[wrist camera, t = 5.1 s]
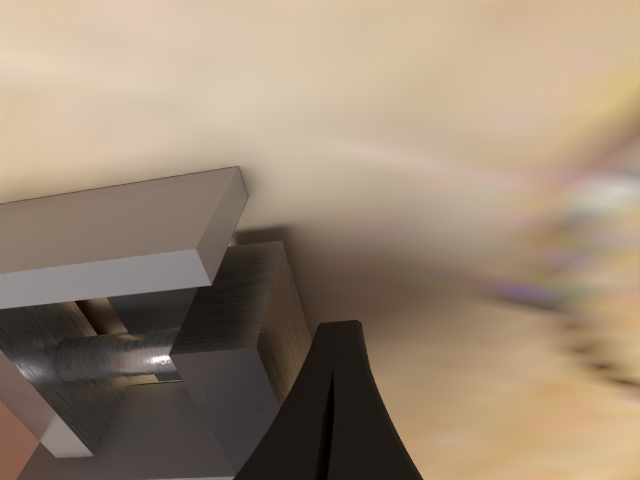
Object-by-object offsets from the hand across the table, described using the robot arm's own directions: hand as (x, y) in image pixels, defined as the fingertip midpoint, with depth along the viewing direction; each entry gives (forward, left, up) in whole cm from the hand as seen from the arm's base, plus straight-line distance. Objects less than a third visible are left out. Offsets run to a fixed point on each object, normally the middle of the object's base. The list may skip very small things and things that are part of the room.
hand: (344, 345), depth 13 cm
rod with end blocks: (0, +6, -2) cm, 6 cm away
